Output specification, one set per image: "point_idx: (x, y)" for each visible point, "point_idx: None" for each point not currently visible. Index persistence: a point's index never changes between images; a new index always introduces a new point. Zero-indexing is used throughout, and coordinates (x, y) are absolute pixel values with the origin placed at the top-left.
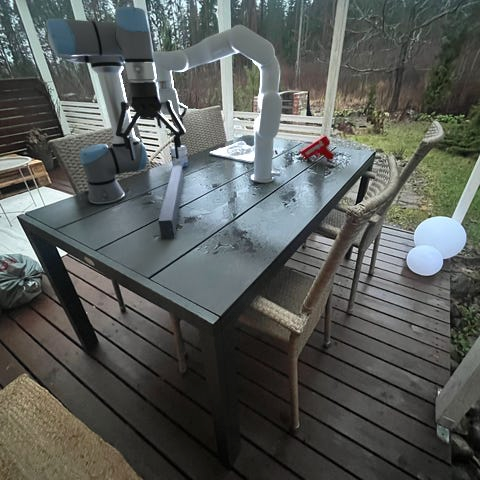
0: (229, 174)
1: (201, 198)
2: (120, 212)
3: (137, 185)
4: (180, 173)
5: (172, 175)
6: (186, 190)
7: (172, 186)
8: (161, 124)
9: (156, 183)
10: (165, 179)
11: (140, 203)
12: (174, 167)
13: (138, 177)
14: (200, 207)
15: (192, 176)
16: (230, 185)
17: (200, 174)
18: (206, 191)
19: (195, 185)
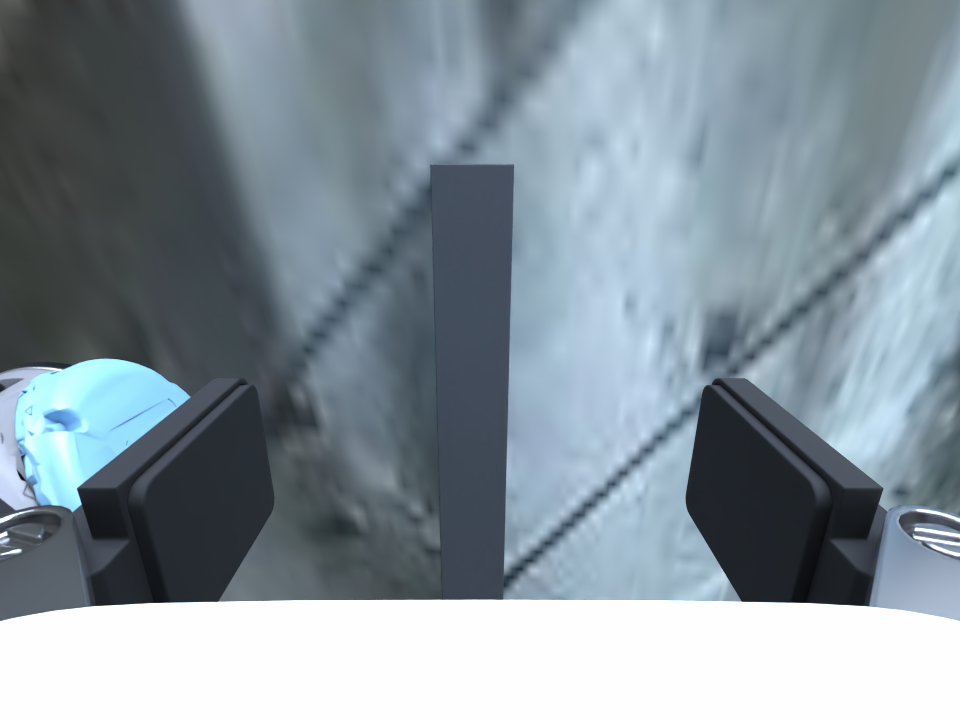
0: (895, 104)
1: (610, 506)
2: (227, 600)
3: (172, 259)
4: (508, 374)
5: (451, 420)
6: (529, 391)
7: (470, 597)
8: (230, 407)
9: (304, 236)
10: (357, 152)
11: (292, 526)
12: (447, 220)
13: (102, 58)
14: (596, 593)
15: (579, 108)
16: (821, 347)
17: (652, 61)
18: (650, 421)
19: (591, 316)
